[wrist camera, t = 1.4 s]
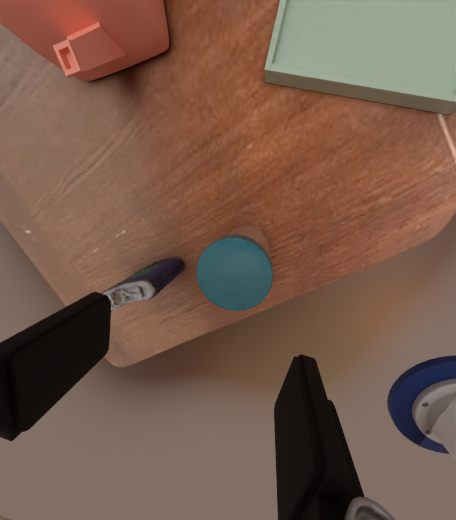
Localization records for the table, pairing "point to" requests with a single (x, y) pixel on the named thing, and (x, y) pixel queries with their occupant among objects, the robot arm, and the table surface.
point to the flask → (145, 282)
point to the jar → (251, 235)
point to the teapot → (89, 32)
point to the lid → (235, 272)
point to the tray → (368, 50)
